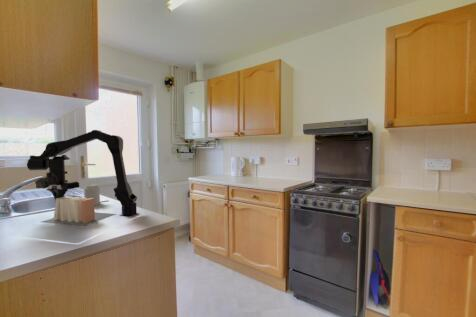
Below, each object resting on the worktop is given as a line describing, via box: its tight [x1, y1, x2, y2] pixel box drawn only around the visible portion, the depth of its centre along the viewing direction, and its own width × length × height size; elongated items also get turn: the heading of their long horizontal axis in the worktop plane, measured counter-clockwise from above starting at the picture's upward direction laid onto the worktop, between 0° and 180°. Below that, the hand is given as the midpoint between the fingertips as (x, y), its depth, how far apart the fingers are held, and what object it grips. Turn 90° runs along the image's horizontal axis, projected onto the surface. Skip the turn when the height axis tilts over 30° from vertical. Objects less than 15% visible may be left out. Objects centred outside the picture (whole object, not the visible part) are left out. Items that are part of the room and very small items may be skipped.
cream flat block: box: [60, 196, 74, 221], centre depth 106 cm, size 2×5×10 cm, turn 167°
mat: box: [41, 211, 116, 227], centre depth 108 cm, size 24×18×1 cm
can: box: [83, 184, 101, 206], centre depth 133 cm, size 8×8×12 cm
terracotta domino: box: [82, 198, 96, 223], centre depth 103 cm, size 2×5×10 cm, turn 167°
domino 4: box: [74, 197, 87, 222], centre depth 104 cm, size 2×5×10 cm, turn 167°
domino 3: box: [67, 196, 81, 222], centre depth 105 cm, size 2×5×10 cm, turn 167°
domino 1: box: [53, 195, 69, 220], centre depth 107 cm, size 2×5×10 cm, turn 167°
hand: (58, 203), depth 107 cm, fingers closed
